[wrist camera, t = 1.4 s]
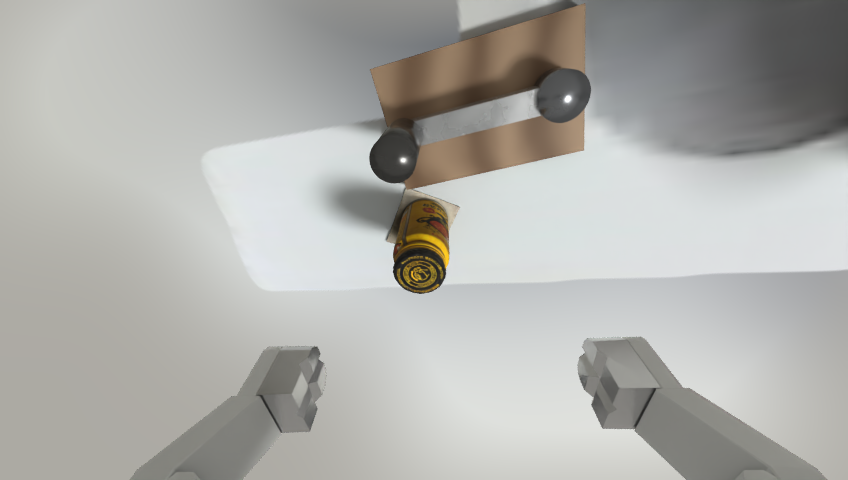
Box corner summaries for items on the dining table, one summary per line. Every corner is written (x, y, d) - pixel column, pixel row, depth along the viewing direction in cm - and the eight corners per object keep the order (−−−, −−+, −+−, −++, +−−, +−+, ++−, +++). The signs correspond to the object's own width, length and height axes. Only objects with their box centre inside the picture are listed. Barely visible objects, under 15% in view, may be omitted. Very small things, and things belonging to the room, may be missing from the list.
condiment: (460, 206, 39) (465, 260, 28) (435, 256, 43) (433, 319, 33) (406, 186, 38) (391, 235, 27) (386, 240, 42) (368, 299, 32)
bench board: (578, 5, 27) (585, 3, 26) (578, 146, 34) (583, 150, 33) (373, 68, 31) (369, 69, 30) (408, 185, 37) (406, 190, 36)
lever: (577, 61, 28) (640, 64, 19) (577, 111, 30) (634, 134, 21) (384, 114, 31) (360, 138, 22) (397, 155, 34) (379, 192, 25)
